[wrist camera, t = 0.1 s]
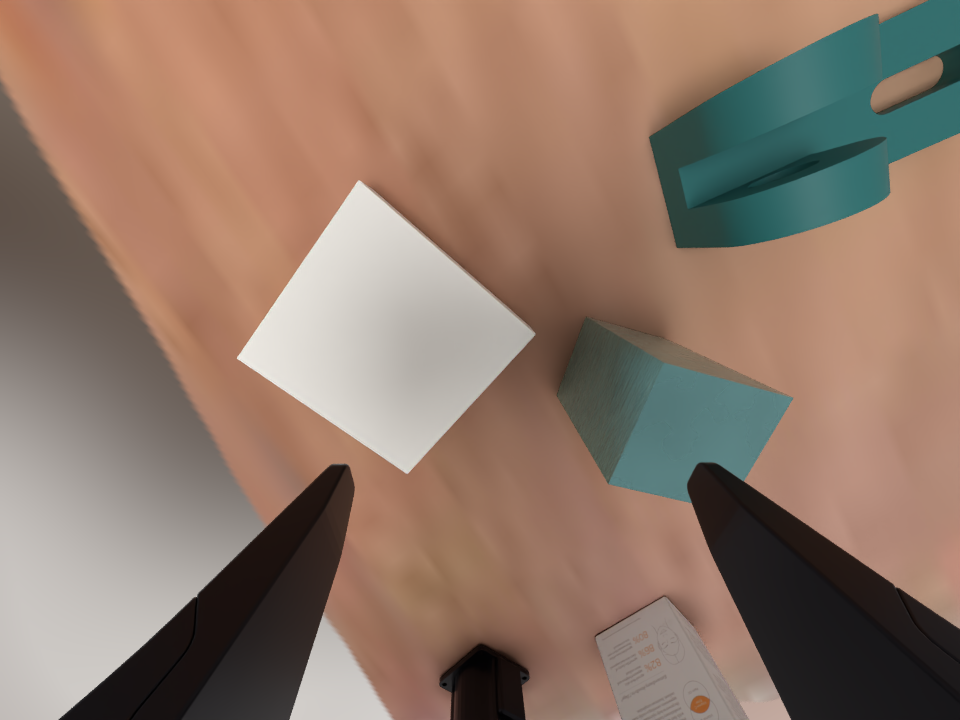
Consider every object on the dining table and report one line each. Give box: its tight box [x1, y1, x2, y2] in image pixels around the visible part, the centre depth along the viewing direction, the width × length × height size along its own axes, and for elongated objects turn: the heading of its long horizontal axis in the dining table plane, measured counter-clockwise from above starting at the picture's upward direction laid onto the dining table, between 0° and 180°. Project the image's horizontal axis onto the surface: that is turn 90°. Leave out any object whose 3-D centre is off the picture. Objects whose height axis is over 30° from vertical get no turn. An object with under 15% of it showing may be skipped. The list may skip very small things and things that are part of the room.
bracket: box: [649, 0, 960, 248], centre depth 17 cm, size 18×7×8 cm, turn 114°
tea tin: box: [557, 317, 793, 503], centre depth 20 cm, size 6×6×10 cm
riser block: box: [237, 181, 536, 474], centre depth 23 cm, size 13×13×3 cm
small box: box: [596, 597, 749, 720], centre depth 28 cm, size 8×6×10 cm
